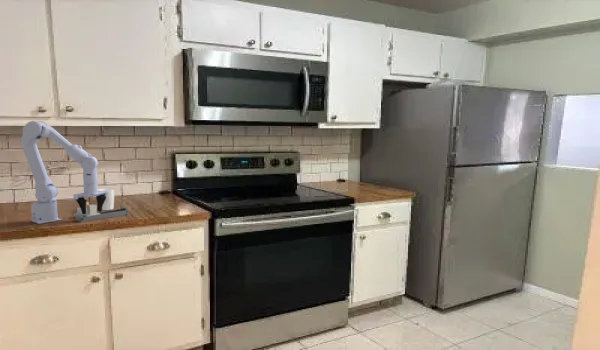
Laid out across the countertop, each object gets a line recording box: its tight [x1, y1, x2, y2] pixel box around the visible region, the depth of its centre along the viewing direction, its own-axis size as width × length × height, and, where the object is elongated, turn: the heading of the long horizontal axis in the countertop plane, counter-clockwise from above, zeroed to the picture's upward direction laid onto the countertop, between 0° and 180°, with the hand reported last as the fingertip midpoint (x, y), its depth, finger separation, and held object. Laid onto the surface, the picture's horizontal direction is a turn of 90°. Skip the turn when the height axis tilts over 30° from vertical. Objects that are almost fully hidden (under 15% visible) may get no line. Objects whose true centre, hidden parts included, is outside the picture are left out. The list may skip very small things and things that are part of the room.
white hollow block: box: [76, 207, 87, 215], centre depth 190 cm, size 6×5×4 cm
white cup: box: [98, 187, 115, 211], centre depth 205 cm, size 8×8×10 cm
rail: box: [75, 205, 129, 223], centre depth 188 cm, size 22×5×3 cm, turn 143°
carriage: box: [84, 203, 100, 217], centre depth 184 cm, size 6×3×6 cm, turn 143°
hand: (91, 212), depth 184 cm, fingers open, 6 cm apart
